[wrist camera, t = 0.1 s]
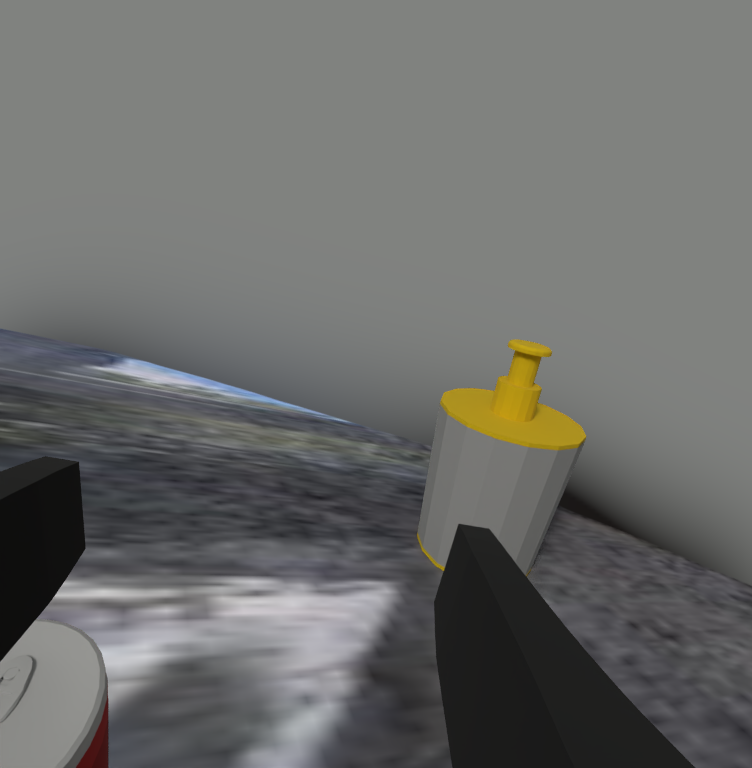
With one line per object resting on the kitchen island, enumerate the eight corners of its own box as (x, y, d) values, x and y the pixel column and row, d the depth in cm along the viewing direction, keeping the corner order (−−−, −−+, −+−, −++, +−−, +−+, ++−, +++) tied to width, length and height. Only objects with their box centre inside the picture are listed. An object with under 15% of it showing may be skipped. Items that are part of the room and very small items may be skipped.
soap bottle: (520, 520, 52) (577, 342, 45) (557, 608, 39) (642, 379, 33) (409, 499, 52) (450, 318, 45) (409, 579, 39) (466, 346, 33)
